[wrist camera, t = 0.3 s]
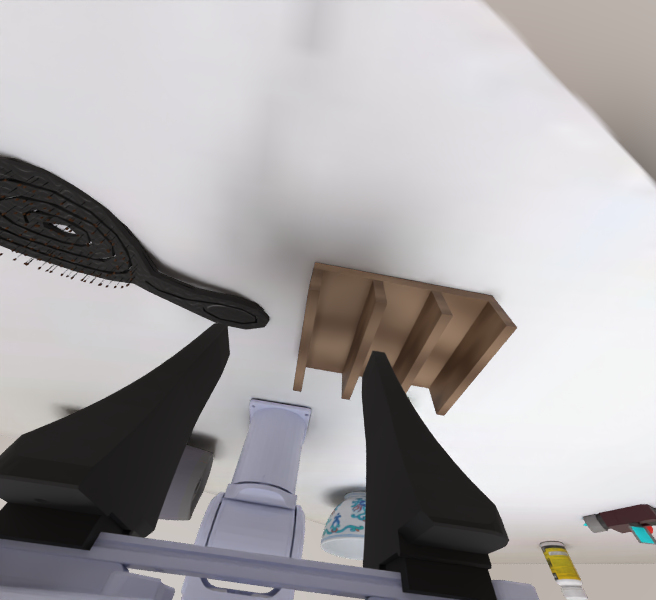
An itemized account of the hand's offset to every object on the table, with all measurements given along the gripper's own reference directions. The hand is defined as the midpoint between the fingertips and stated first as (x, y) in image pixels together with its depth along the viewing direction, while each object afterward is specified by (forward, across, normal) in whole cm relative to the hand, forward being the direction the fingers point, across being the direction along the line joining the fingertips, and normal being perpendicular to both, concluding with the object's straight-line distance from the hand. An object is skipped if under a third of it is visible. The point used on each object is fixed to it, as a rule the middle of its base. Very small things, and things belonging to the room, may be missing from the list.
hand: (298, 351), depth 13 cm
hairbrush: (+11, +16, +3) cm, 19 cm away
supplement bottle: (+10, -64, +62) cm, 89 cm away
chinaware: (+10, -16, +50) cm, 54 cm away
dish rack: (+10, -7, +6) cm, 14 cm away
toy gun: (+11, -63, +40) cm, 76 cm away
